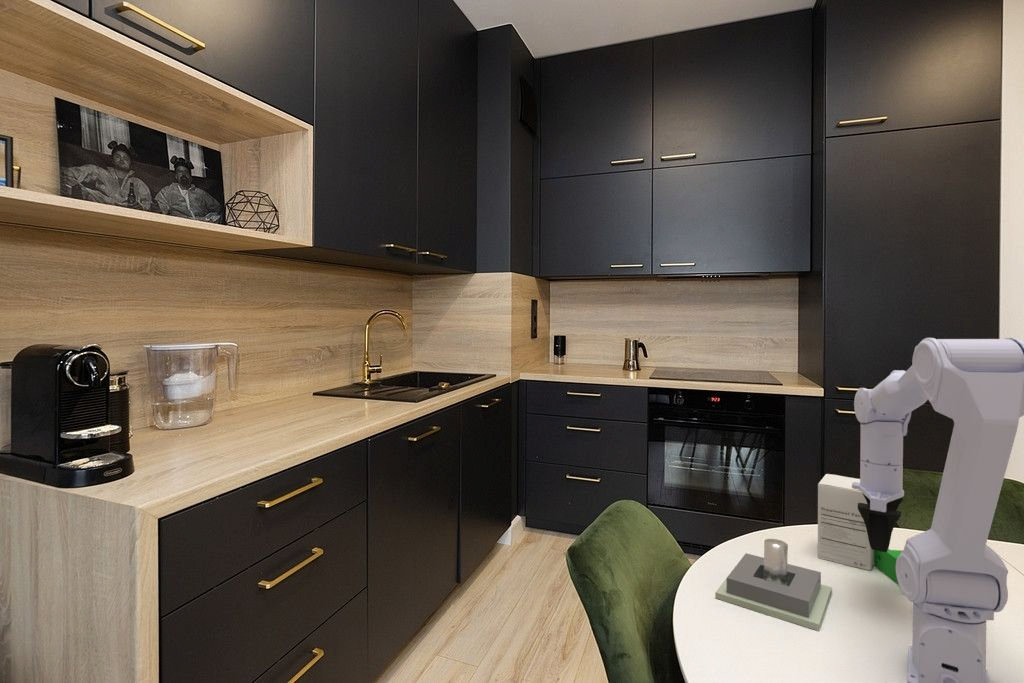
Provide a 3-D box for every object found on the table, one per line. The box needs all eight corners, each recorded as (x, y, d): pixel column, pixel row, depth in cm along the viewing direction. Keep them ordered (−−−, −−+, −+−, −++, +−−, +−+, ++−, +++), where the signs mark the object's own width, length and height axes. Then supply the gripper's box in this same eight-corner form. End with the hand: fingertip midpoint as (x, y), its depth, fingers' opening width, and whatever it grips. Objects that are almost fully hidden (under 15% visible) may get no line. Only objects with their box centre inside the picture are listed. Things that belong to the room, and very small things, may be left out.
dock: (819, 631, 75) (819, 607, 75) (715, 598, 85) (715, 577, 85) (831, 592, 86) (832, 572, 86) (738, 567, 96) (738, 549, 96)
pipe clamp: (935, 598, 85) (936, 571, 85) (911, 597, 85) (911, 570, 85) (895, 567, 96) (895, 543, 96) (873, 565, 96) (874, 542, 96)
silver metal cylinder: (785, 597, 83) (786, 549, 83) (762, 591, 85) (763, 544, 85) (787, 588, 86) (788, 541, 86) (764, 582, 88) (765, 537, 88)
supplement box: (824, 543, 106) (825, 472, 106) (876, 555, 100) (877, 480, 100) (816, 558, 100) (816, 482, 99) (871, 572, 94) (872, 491, 93)
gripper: (856, 449, 92) (855, 523, 92) (847, 466, 81) (846, 550, 81) (905, 455, 88) (904, 533, 88) (903, 474, 76) (902, 563, 77)
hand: (880, 542), depth 84 cm, fingers open, 7 cm apart
